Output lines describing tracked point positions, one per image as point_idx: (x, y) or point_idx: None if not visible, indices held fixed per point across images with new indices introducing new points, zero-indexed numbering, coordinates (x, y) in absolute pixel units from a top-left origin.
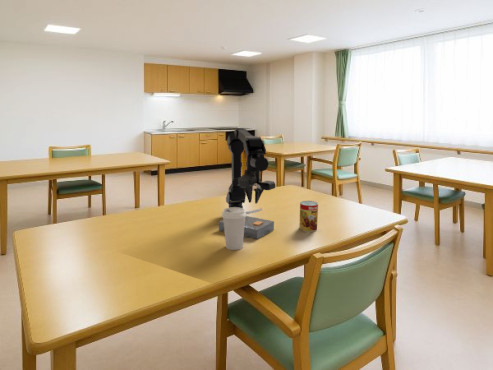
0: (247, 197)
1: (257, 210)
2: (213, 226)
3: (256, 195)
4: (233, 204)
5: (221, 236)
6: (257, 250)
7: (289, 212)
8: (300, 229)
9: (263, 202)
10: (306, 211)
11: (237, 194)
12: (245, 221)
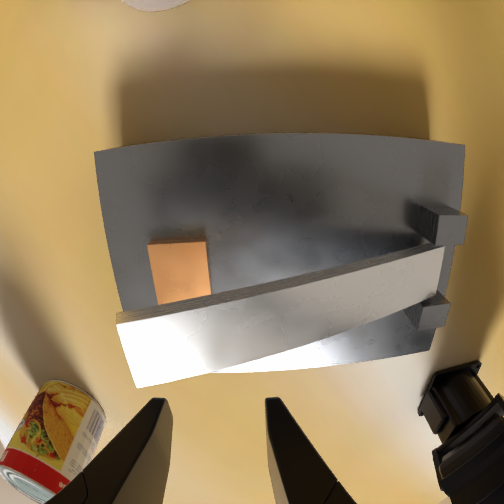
0: (311, 451)
1: (126, 319)
2: (481, 185)
3: (79, 492)
4: (477, 409)
5: (351, 51)
6: (41, 32)
7: (256, 492)
8: (79, 388)
9: (387, 494)
10: (17, 444)
11: (482, 460)
12: (302, 266)
